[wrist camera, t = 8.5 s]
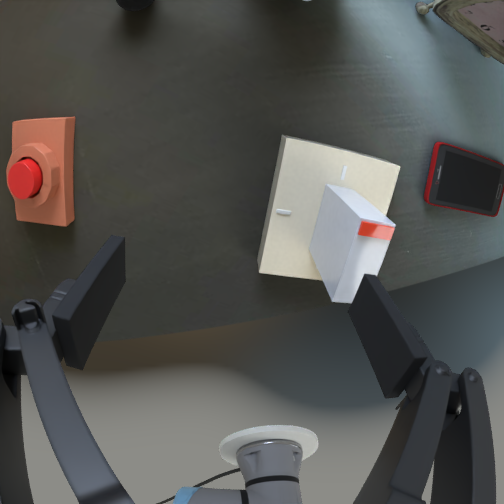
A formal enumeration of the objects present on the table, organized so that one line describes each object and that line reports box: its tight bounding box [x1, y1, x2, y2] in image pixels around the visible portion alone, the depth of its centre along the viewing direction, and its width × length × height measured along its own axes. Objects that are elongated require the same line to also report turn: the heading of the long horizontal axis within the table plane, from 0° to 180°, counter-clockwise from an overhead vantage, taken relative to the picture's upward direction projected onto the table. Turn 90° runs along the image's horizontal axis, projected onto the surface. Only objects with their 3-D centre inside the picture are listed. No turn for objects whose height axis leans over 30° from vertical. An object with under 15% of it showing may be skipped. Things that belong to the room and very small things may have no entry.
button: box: [8, 159, 42, 199], centre depth 24 cm, size 4×4×2 cm
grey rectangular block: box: [309, 184, 395, 303], centre depth 25 cm, size 7×3×9 cm, turn 170°
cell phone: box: [424, 142, 504, 217], centre depth 30 cm, size 8×15×1 cm, turn 85°
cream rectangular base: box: [257, 135, 400, 280], centre depth 30 cm, size 14×12×3 cm
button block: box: [6, 117, 75, 227], centre depth 26 cm, size 12×8×4 cm, turn 170°
